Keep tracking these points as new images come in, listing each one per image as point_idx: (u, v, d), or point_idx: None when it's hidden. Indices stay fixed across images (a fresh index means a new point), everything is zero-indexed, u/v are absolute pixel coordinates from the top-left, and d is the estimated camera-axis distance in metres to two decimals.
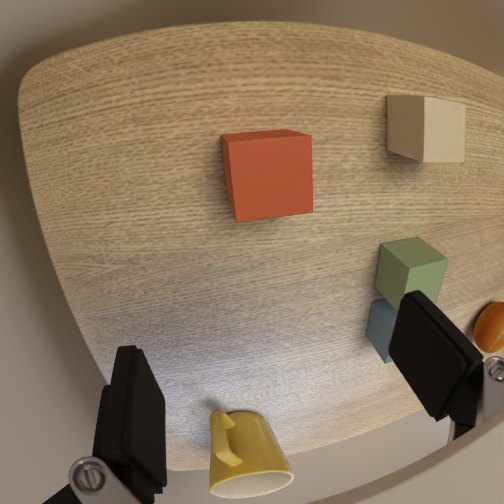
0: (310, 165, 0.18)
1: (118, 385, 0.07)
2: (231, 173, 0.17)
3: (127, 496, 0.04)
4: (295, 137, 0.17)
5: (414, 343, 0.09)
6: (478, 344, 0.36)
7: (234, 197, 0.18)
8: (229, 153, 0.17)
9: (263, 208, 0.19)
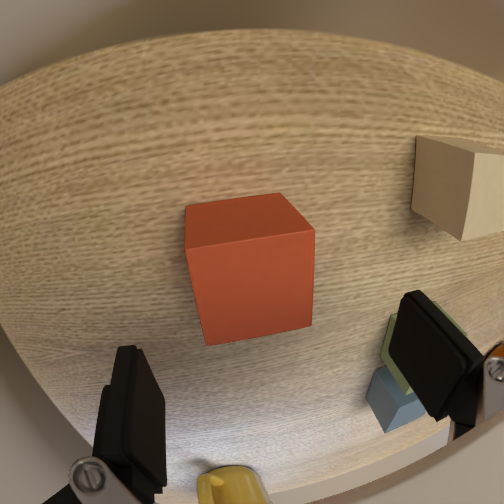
0: (311, 271, 0.12)
1: (118, 385, 0.07)
2: (194, 290, 0.12)
3: (127, 496, 0.04)
4: (290, 234, 0.11)
5: (414, 343, 0.09)
6: None
7: (201, 319, 0.13)
8: (188, 264, 0.11)
9: (242, 328, 0.13)
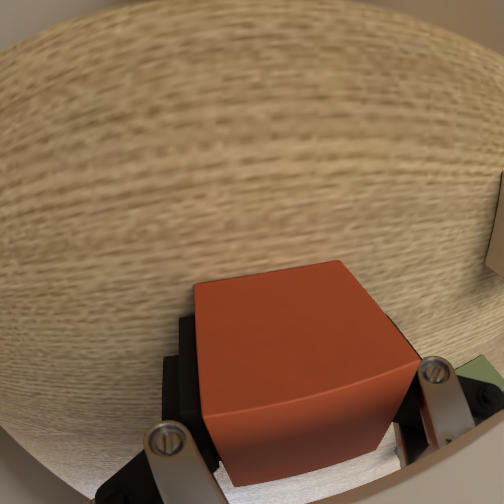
0: (397, 405, 0.07)
1: (187, 350, 0.08)
2: (219, 451, 0.06)
3: (201, 468, 0.05)
4: (386, 375, 0.06)
5: None
6: None
7: (228, 472, 0.07)
8: (210, 430, 0.06)
9: (287, 471, 0.07)
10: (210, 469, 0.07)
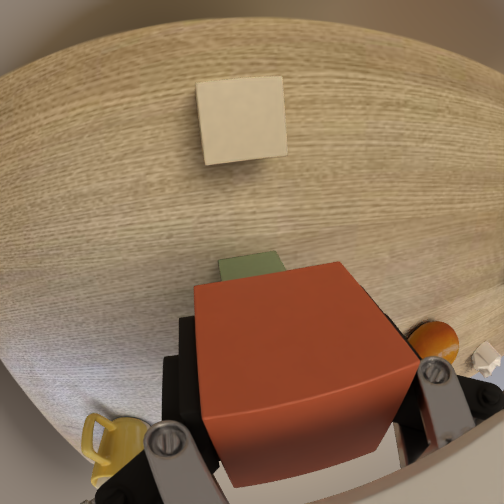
0: (397, 406, 0.07)
1: (187, 350, 0.08)
2: (218, 452, 0.06)
3: (201, 468, 0.05)
4: (385, 376, 0.06)
5: None
6: None
7: (228, 472, 0.07)
8: (209, 431, 0.06)
9: (287, 472, 0.07)
10: (210, 469, 0.07)
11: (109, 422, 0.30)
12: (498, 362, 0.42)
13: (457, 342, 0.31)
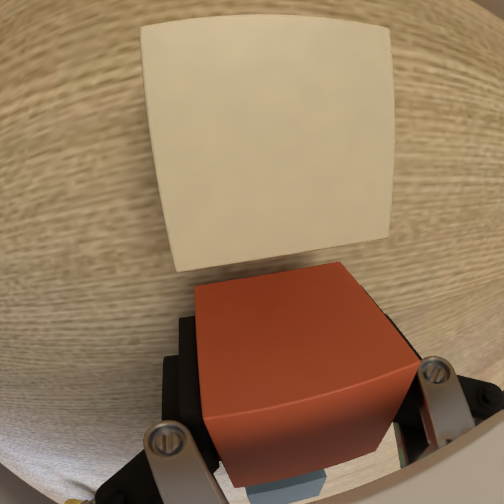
0: (397, 406, 0.07)
1: (187, 350, 0.08)
2: (219, 453, 0.06)
3: (201, 468, 0.05)
4: (386, 376, 0.06)
5: None
6: None
7: (229, 472, 0.07)
8: (210, 431, 0.06)
9: (287, 472, 0.07)
10: (210, 469, 0.07)
11: None
12: None
13: None
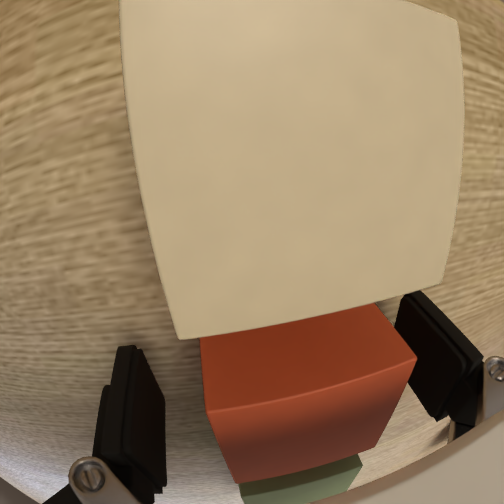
0: (395, 403, 0.07)
1: (118, 385, 0.07)
2: (221, 447, 0.06)
3: (127, 496, 0.04)
4: (383, 372, 0.06)
5: (414, 343, 0.09)
6: None
7: (230, 468, 0.07)
8: (213, 425, 0.06)
9: (287, 468, 0.08)
10: None
11: None
12: None
13: None
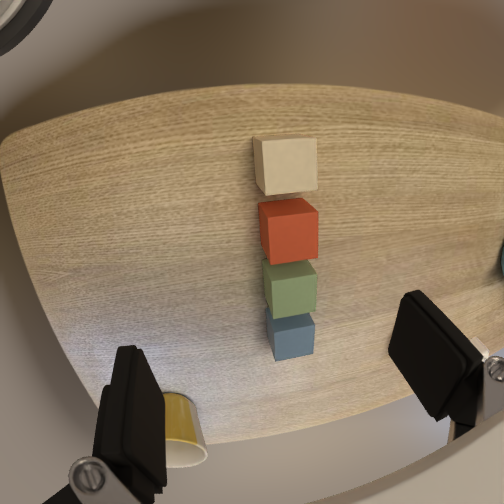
0: (317, 229, 0.29)
1: (118, 385, 0.07)
2: (269, 236, 0.29)
3: (127, 496, 0.04)
4: (308, 213, 0.28)
5: (414, 343, 0.09)
6: None
7: (270, 250, 0.29)
8: (268, 224, 0.28)
9: (287, 256, 0.30)
10: None
11: None
12: (486, 355, 0.50)
13: None
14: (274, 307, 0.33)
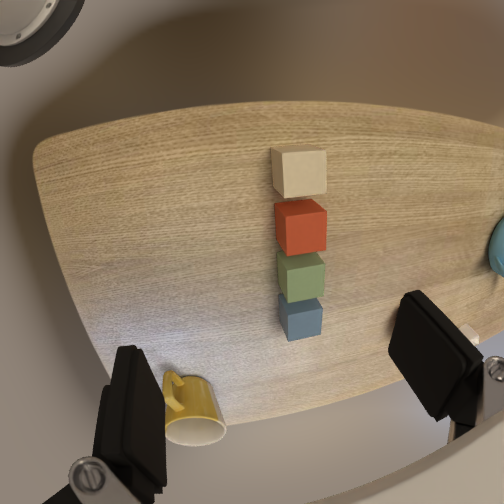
0: (325, 226, 0.35)
1: (118, 385, 0.07)
2: (286, 232, 0.34)
3: (127, 496, 0.04)
4: (318, 213, 0.34)
5: (414, 343, 0.09)
6: None
7: (286, 243, 0.35)
8: (285, 222, 0.34)
9: (300, 248, 0.36)
10: None
11: (179, 378, 0.45)
12: (477, 341, 0.57)
13: None
14: (288, 292, 0.38)
